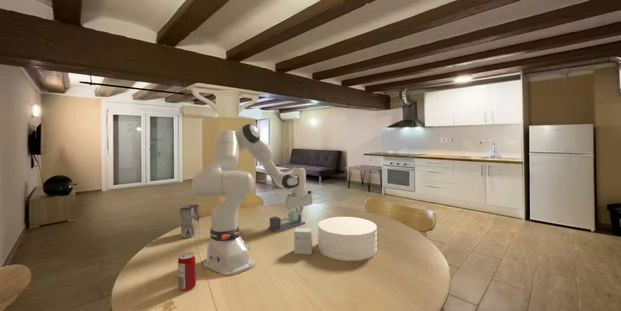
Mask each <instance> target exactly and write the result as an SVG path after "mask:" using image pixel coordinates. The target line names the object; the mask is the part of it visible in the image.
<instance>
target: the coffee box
mask: <svg viewBox="0 0 621 311" xmlns="http://www.w3.org/2000/svg"><path fill="white" fill-rule="evenodd" d="M179 210H180V211H179V213H180V237H181V236H185V237H192V238H193V236H194V235H195V236H196V235H197V234H199V233H200V232H201V231H200V230H201V229H200V214H199V213H200V208H199V204H187V205H185V206H183V207H181V208H179ZM199 231H200V232H199ZM198 232H199V233H198ZM195 236H194V237H195Z"/></svg>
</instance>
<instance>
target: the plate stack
mask: <svg viewBox="0 0 621 311" xmlns="http://www.w3.org/2000/svg"><path fill="white" fill-rule="evenodd" d="M317 226H318V227H317V228H318V229H317V233H318V236H317V239H318V240H317V242H318V247H317V248H318V252H320V254H322V255H324V256H326V257H328V258H331V259H334V260H338V261H346V262H347V261H352V262H353V261H362V260H367V259H369V258H371V257H373V256H375V255H376V254H377V250H378V249H377V247H378V242H377V240H378V237H377V234H378V232H377V230H378V226H377V224H376V223H375V222H373V221H371V220H370V219H369V220H368V219H365V218H362V217H361V218H360V217H357V216H356V217H353V216H333V217H328V218H324V219H322V220H321V221H319V222H318V223H317Z"/></svg>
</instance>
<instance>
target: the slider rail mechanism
mask: <svg viewBox="0 0 621 311" xmlns="http://www.w3.org/2000/svg"><path fill="white" fill-rule="evenodd" d="M290 219H292V217H289V216H288V217H283V218H280V217H279V216H271V217H269V226H268V227H267V229H268V230H270V231H273V232H275V233H279V232H283V231H286V229H287V230H290V229H293V228H297V227H299V226H303V224H304V225H306V222H305V221H302V214H298V221H296V222H291V221H289V220H290ZM296 226H297V227H296Z"/></svg>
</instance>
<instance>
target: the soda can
mask: <svg viewBox="0 0 621 311" xmlns="http://www.w3.org/2000/svg"><path fill="white" fill-rule="evenodd" d="M177 275H178V276H177V277H178V278H177V279H178V282H177V283H178V285H177V286H178V290H179V291H181V292H189V291H192V290H193V289H194V288H195V287H196V285H197V283H196V282H197V278H196V277H197V275H196V256H195V253H194V252H184V253H181V254H180V255H178V259H177Z"/></svg>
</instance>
